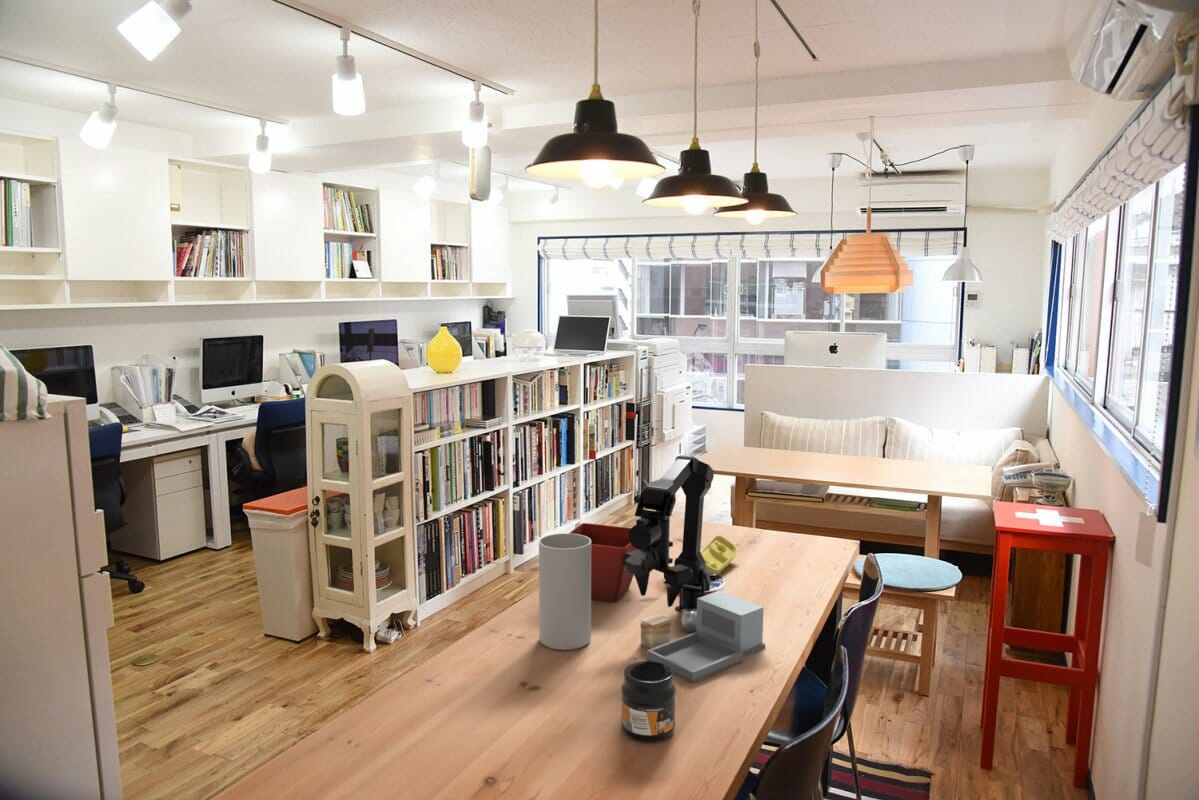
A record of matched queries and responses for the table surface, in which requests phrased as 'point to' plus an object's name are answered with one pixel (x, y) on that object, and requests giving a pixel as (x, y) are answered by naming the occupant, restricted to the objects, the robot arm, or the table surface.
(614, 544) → the plant pot
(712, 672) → the parts tray
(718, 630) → the box
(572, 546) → the cylinder vase
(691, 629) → the chrome-capped short cylinder
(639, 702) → the supplement container
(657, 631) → the block
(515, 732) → the table surface
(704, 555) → the plastic component
